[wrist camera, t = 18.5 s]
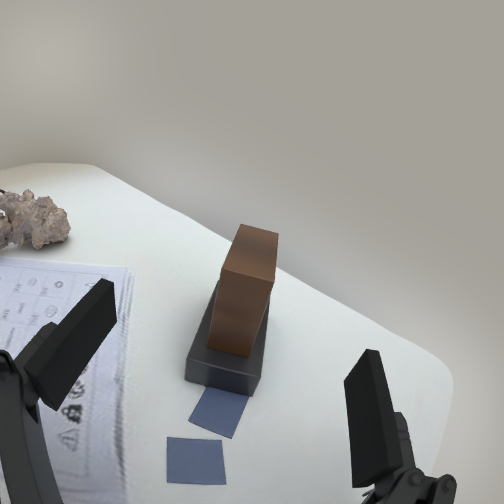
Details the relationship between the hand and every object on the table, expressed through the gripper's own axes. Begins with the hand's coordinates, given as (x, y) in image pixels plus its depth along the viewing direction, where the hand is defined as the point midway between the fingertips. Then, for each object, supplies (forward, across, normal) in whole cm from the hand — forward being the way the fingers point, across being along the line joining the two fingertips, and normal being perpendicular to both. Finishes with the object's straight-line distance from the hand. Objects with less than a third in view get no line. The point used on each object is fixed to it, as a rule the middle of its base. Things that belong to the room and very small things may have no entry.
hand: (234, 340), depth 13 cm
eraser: (+7, 0, -7) cm, 10 cm away
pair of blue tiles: (0, 0, -7) cm, 7 cm away
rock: (+9, -26, -8) cm, 29 cm away
